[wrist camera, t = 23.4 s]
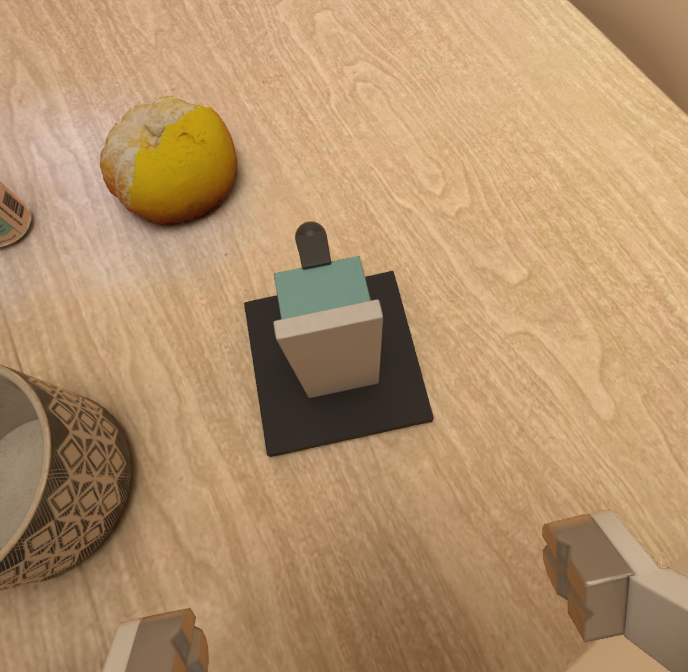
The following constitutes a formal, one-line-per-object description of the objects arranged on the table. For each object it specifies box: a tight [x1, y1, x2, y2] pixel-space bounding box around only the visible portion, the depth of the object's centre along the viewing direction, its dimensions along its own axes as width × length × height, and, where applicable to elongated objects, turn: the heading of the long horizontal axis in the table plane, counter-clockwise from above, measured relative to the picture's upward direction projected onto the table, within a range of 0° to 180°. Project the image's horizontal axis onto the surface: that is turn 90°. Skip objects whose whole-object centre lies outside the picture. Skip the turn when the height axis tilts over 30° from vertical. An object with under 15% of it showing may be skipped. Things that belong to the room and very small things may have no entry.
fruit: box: [100, 96, 237, 225], centre depth 41 cm, size 11×10×8 cm
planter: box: [0, 365, 132, 590], centre depth 30 cm, size 13×13×10 cm
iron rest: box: [244, 271, 434, 457], centre depth 37 cm, size 12×12×1 cm
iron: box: [274, 221, 383, 398], centre depth 30 cm, size 8×5×13 cm
